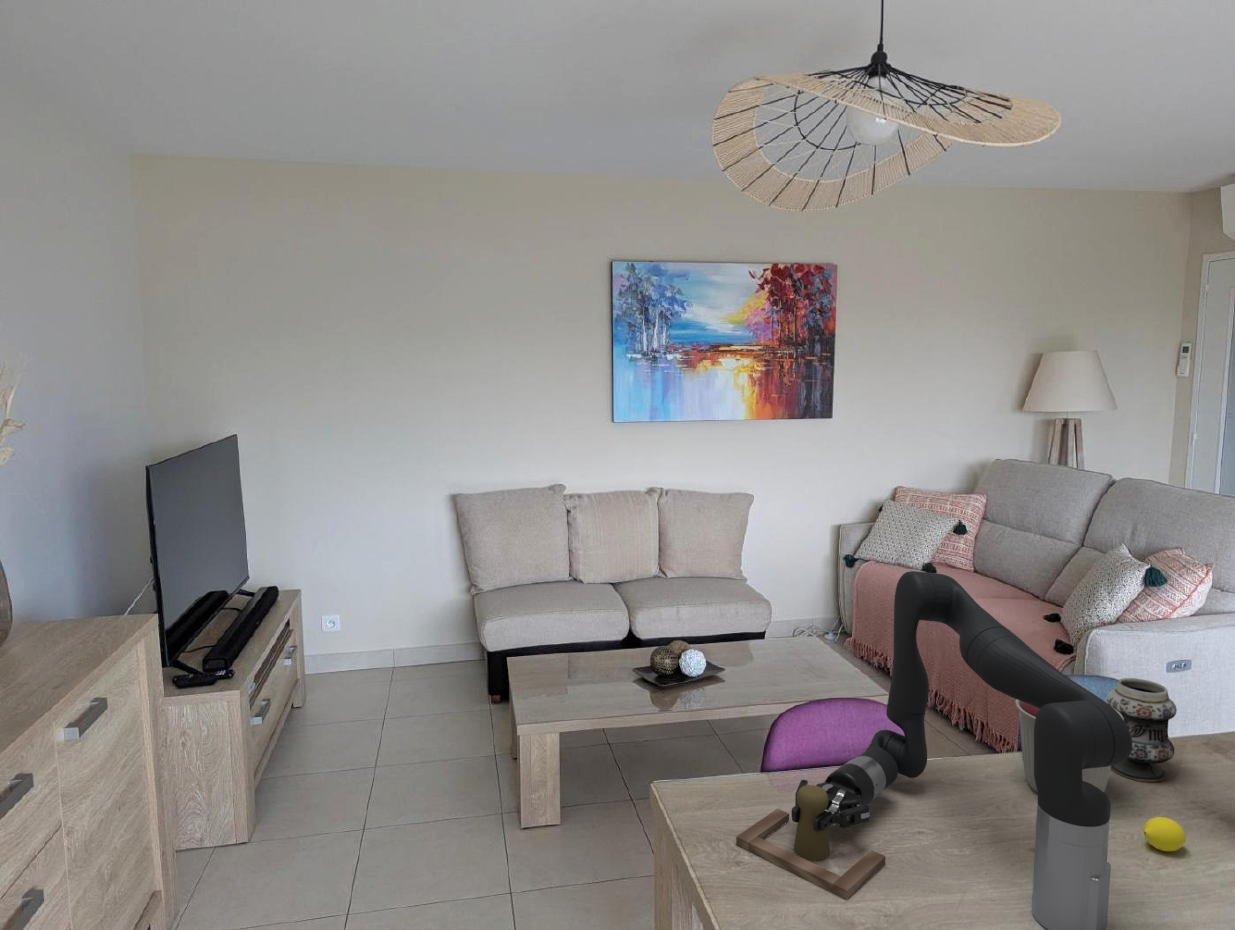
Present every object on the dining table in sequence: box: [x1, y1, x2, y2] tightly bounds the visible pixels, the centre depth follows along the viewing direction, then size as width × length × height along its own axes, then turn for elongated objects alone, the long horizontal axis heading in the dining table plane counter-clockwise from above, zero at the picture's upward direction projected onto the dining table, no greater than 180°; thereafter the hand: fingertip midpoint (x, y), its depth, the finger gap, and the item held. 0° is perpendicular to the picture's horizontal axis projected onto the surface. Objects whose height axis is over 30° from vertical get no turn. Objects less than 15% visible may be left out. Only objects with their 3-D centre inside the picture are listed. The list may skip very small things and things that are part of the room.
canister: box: [1015, 699, 1124, 793], centre depth 155 cm, size 18×18×21 cm
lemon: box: [1143, 816, 1186, 853], centre depth 137 cm, size 7×5×5 cm
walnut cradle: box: [735, 808, 886, 900], centre depth 136 cm, size 21×12×2 cm, turn 45°
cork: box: [793, 784, 831, 862], centre depth 137 cm, size 6×6×11 cm
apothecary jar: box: [1106, 677, 1178, 783], centre depth 163 cm, size 12×12×18 cm
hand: (804, 821), depth 135 cm, fingers closed on cork, 3 cm apart
